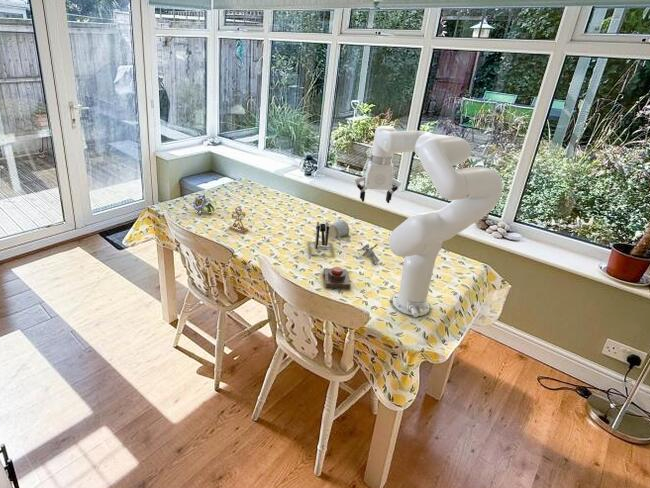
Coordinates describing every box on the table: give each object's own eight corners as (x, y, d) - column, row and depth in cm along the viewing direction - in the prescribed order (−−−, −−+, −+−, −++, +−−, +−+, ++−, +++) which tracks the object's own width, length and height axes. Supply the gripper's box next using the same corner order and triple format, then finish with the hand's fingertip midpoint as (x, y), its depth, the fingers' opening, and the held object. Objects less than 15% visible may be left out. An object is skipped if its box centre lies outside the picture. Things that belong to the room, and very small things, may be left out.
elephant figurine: (365, 267, 172) (353, 251, 178) (369, 271, 176) (357, 256, 182) (385, 252, 171) (372, 237, 176) (388, 257, 175) (376, 242, 181)
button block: (349, 289, 156) (350, 280, 155) (325, 288, 157) (326, 279, 156) (345, 273, 167) (346, 265, 165) (323, 272, 167) (324, 264, 166)
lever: (329, 250, 175) (329, 247, 173) (317, 249, 175) (317, 246, 174) (327, 226, 182) (328, 223, 181) (316, 226, 183) (317, 223, 181)
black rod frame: (333, 256, 179) (336, 230, 174) (310, 255, 180) (312, 229, 175) (330, 243, 190) (332, 218, 185) (308, 242, 191) (310, 217, 186)
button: (342, 275, 159) (342, 271, 158) (332, 275, 159) (333, 271, 158) (341, 270, 162) (341, 266, 161) (331, 270, 162) (332, 266, 162)
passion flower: (198, 222, 222) (185, 204, 221) (210, 212, 230) (199, 194, 228) (209, 216, 214) (196, 197, 213) (222, 206, 221) (209, 188, 220)
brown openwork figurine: (229, 228, 204) (228, 206, 199) (233, 225, 207) (233, 203, 202) (243, 233, 199) (243, 210, 194) (248, 230, 202) (248, 208, 197)
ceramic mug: (325, 236, 197) (326, 221, 194) (337, 231, 202) (338, 217, 199) (342, 245, 190) (343, 230, 186) (353, 240, 194) (355, 225, 191)
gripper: (359, 161, 152) (353, 203, 159) (407, 163, 151) (399, 206, 158) (356, 155, 159) (351, 196, 166) (402, 157, 157) (395, 198, 164)
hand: (374, 201), depth 162 cm, fingers open, 9 cm apart
